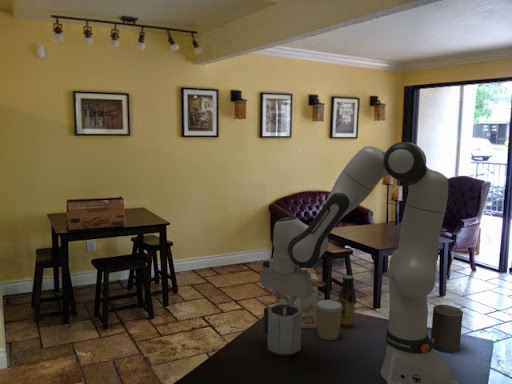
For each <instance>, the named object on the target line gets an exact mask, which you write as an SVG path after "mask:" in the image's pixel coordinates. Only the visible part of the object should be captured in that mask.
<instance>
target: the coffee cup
mask: <svg viewBox="0 0 512 384" xmlns="http://www.w3.org/2000/svg"><path fill="white" fill-rule="evenodd" d="M316 307H317V328H316V330H317V337H319V338H320V339H323V340H326V341H332V340H333V341H334V340H337V339H339V336H340V329H341V328H340V321H341V311H342V306H341V304H340V303H339V302H338V301H337V300H333V299H321V300H319V301H317V305H316Z"/></svg>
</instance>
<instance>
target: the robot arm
mask: <svg viewBox="0 0 512 384" xmlns="http://www.w3.org/2000/svg"><path fill="white" fill-rule="evenodd" d="M386 176H389V177H391V178H393V179H395V180H397V181H399V182H401V183H403V184H404V185H406V186H407V187H408V193H407V197H406V202H405V206H404V210H403V215H402V220H401V224H400V230H399V241H398V248H396V249H395V250H394V251H393V252H392V254H391V256H390V258H389V263H388V264H389V266H388V267H389V268H388V271H389V272H388V276H389V277H388V284H389V285H388V293H389V294H388V295H389V297H388V298H389V300H388V301H389V306H388V307H389V311H388V327H387V329H386V337H385V347H386V351H385V355H384V359H383V363H382V367H381V369H380V375H381V377H382V378H383V379H384V380H385V381H386V384H460V383H459V381H457V380H456V379H454V378H453V377H452V376H453V375H452V370H451V366H450V365H449V364H448V362H447V361H446V360H444V358H442V356H440V355H439V354H438V353H437V351H435V349H434V348H433V347H432V344H433V343H434V338H433V339H432V340H431V337H429V335H428V333H427V332H428V331H427V329H428V318H429V317H428V316H429V307H428V296H429V295H430V294H431V293H432V292H433V290H434V288H435V286H436V271H437V264H438V254H439V242H440V237H441V231H442V227H443V222H444V219H445V214H446V210H447V204H448V199H449V196H448V195H449V180H448V177H446V175H444V174H443V173H442V172H439V171H437V170H433V169H430V168H429V167H428V166H427V156H426V153H425V152H424V151H423V149H422V148H421V147H420V146H419V145H417V144H415V143H413V142H409V141H407V142H406V141H399V142H396V143H393V144H391V146H390V147H389V148H388V149H387V150H386V151H384V150H382V149H380V148H378V147H376V146H372V145H371V146H370V145H367V146H363V147H362V148H360V150H358V151H357V153H356V154H354V156H353V157H352V158H351V159H350V160H349V162H348V163H346V165H345V166H344V168H343V169H342V171H341V172H340V173H339V175H338V177H337V179H336V181H335V182H334V184H333V186H332V188H331V191H330V193H329V195H328V197H327V199H326V201H325V203H324V205H323V206H322V208H321V209H320V210H319V212H318V213H317V215H316V216H315V217H314V219H313V220H312V221H311V223H310V224H309V225H308V224H306V223H304V222H303V221H301V220H300V219H299V218H298V217H296V216H287V217H283V218H279V219H278V220H277V221H276V222H275V223H274V228H273V237H272V239H273V240H272V244H273V249H274V250H273V253H272V257H270V258H269V257H268V258H266V259H263V260H261V261H260V265H261V267H260V273H259V283H260V285H261V286H262V287H265V288H269V289H272V292H273V295H274V297H275V302H276V303H277V304H279V299H280V298H281V297H282V296H281V295H280V292H281V293H284V294H288V295H290V301H288V306H290V307H294V306H295V301H296V299H297V297H300V298H303V299H306V298H309V297H310V296H311V295H312V283H311V274H310V273H309V272H308V271H307V270H303V269H301V268H311V267H312V266H314V265H315V264H316V263H317V262H318V261H319V259H320V258H321V257H322V256H323V254H325V252H326V251H327V250H328V247H329V238H328V236H329V234H331V232H332V231H333V230H334V228H335V227H336V226H337V224H338V223H339V222H340V221H341V220H342V219H343V218H344V217H345V216H346V215H348V214H349V213H350V212H352V211H353V210H354V209H356V208H357V207H359V206H360V205H361V204H362V203H363V202H364V201H365V200H366V199H367V198H368V197H369V196H370V195H371V193H372V192H373V191H374V190H375V188H376V186H377V185H379V182H380V181H381V180H382V179H384V177H386Z"/></svg>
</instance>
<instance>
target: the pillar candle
mask: <svg viewBox="0 0 512 384" xmlns="http://www.w3.org/2000/svg"><path fill="white" fill-rule="evenodd" d="M432 309H433V311H432V317H431V318H432V319H431V322H432V323H431V331H430V333H431V334H430V335H431V336H430V340H432V339H433V338H434V343H433V344H432V349H433V350H436V351H438V352H441V353H444V354H445V353H446V354H455V353H458V352H459V351H460V348H461V338H462V337H461V336H462V329H463V328H462V326H463V315H464V311H463V310H462V309H460V308H459V307H456V306H453V305H450V304H449V305H448V304H437V305H434V306H433V308H432Z"/></svg>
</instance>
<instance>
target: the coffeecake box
mask: <svg viewBox="0 0 512 384" xmlns="http://www.w3.org/2000/svg"><path fill="white" fill-rule="evenodd" d="M300 268H301V269H303V270H307V271H308V272H309V273H310V274H311V283H312V295H311V296H310V297H309V298H306V299H303V298H300V297H297V299H296V300H295V302H294V306H296V307H299V308H300V309H301V312H302V318H301V329H317V307H316V305H317V303H318V295H319V291H318V290H319V278H318V276H317V275H316V271H315V269H314V268H313V267H312V268H311V267H307V268H303V267H300Z"/></svg>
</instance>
